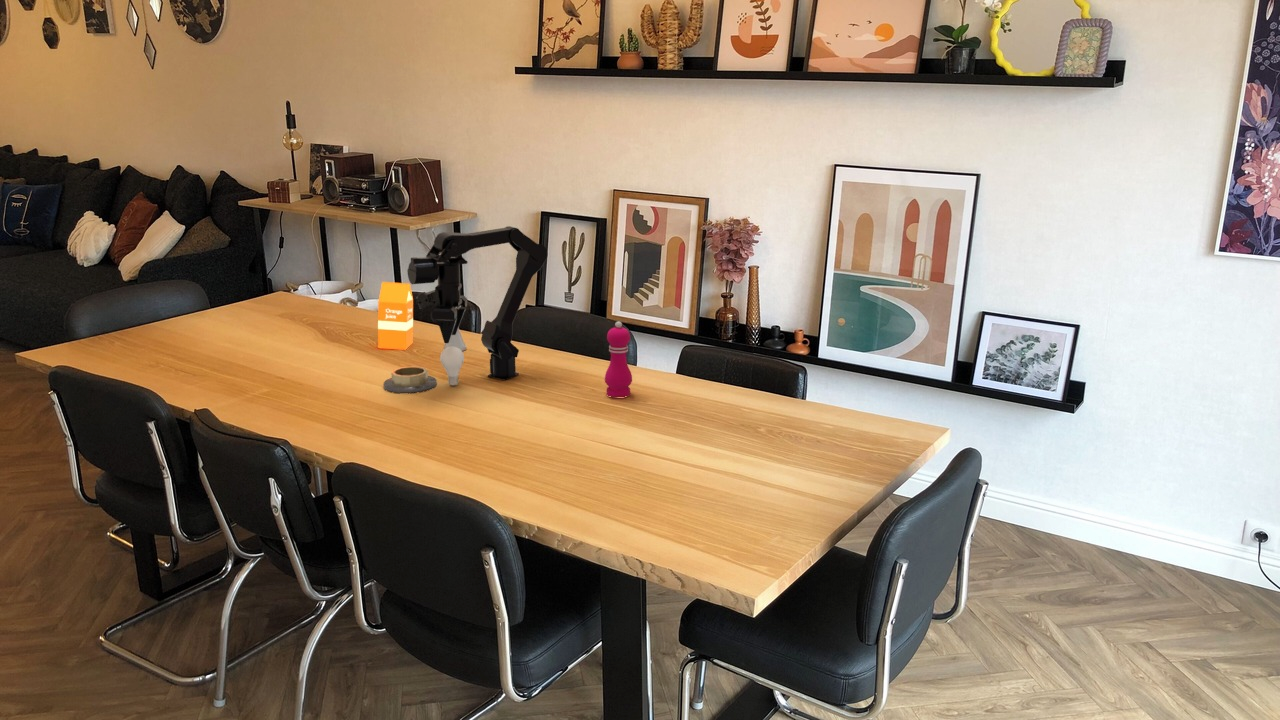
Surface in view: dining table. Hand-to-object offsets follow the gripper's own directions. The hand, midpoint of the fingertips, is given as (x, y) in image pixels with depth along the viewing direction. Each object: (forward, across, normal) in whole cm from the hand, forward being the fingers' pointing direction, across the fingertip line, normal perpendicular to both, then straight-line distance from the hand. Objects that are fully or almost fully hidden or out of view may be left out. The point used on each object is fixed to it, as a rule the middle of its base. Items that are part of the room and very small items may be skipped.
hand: (450, 338), depth 250 cm
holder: (+13, 0, -11) cm, 17 cm away
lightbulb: (+13, 0, +1) cm, 13 cm away
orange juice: (+13, -39, -25) cm, 49 cm away
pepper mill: (+12, +6, +46) cm, 48 cm away
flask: (+13, -36, -6) cm, 39 cm away
